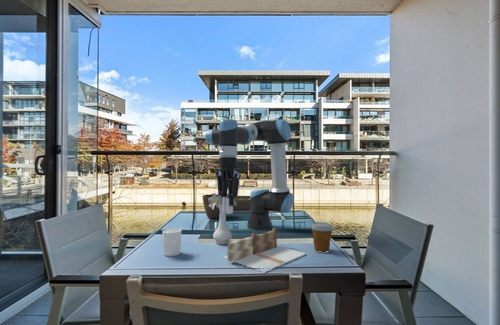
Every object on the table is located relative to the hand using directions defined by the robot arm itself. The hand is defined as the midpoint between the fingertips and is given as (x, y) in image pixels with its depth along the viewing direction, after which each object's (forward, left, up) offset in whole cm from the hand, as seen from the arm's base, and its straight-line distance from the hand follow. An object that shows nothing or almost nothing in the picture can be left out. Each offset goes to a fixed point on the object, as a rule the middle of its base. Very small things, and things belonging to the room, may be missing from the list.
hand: (227, 212), depth 114 cm
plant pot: (-47, -68, -19) cm, 85 cm away
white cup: (+14, -20, -19) cm, 31 cm away
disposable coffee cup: (-36, +24, -19) cm, 47 cm away
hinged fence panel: (-2, +6, -18) cm, 19 cm away
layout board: (-12, +11, -18) cm, 25 cm away
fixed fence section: (-17, +6, -18) cm, 25 cm away
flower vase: (-12, -18, -19) cm, 29 cm away
